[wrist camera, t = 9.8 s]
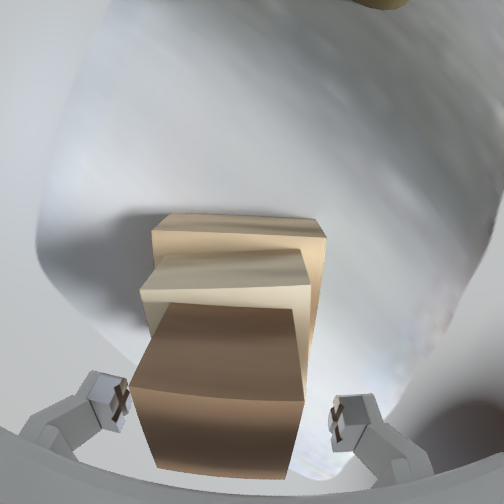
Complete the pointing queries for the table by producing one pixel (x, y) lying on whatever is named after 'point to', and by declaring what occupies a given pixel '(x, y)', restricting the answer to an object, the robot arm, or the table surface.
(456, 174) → the table surface
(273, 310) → the walnut cube
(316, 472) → the table surface
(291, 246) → the tower base
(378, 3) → the cork
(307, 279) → the tower mid
